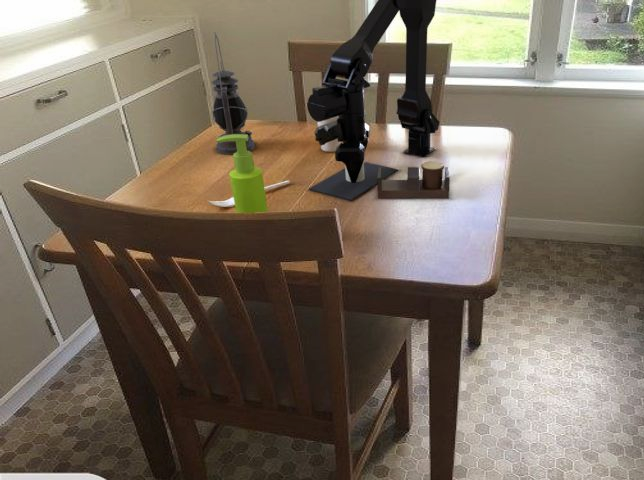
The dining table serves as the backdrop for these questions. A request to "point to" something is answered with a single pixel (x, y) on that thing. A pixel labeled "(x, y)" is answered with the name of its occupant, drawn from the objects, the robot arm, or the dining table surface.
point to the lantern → (229, 109)
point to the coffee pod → (360, 176)
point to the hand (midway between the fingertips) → (355, 176)
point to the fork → (231, 201)
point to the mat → (348, 190)
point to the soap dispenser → (246, 178)
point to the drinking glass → (330, 145)
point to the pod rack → (411, 187)
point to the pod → (432, 174)
